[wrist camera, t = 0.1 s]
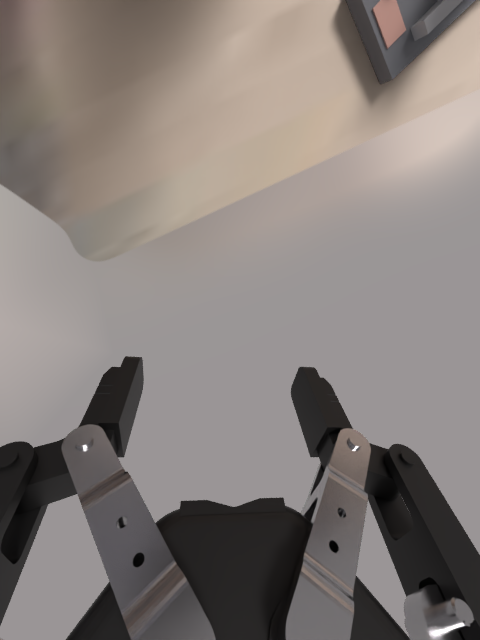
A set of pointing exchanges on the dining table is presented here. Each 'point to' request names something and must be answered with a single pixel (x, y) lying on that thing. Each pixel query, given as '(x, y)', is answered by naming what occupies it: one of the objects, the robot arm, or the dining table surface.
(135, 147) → the dining table surface
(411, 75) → the dining table surface
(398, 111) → the dining table surface
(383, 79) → the grey rail track base
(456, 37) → the dining table surface
